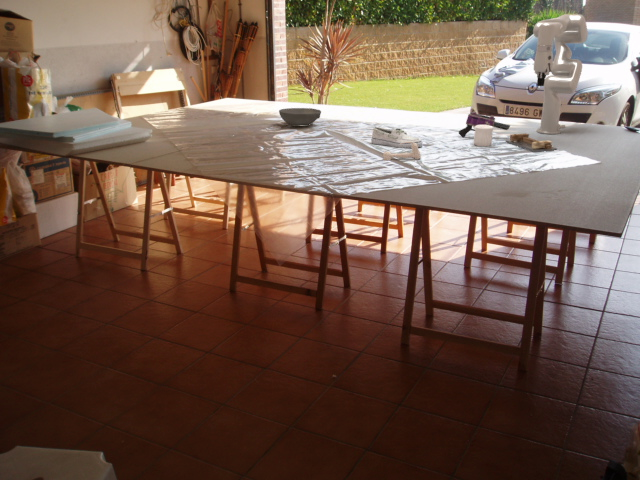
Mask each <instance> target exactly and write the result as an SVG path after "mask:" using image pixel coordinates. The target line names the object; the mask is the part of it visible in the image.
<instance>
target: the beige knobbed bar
mask: <svg viewBox="0 0 640 480" xmlns="http://www.w3.org/2000/svg"><path fill="white" fill-rule="evenodd" d="M404 143H412V145H411V148H410V149H411V151H412V152H402V153H391V151H389V150H387V151H385V152H384V153H383V154H382V158H383V159H382V160H383V161H391V160H392V158H399V159H401V158H402V159H414V160H419V159H421V157H422V155H421V152H420V149H419V147H418V146H417V144H416V143H414V142H404ZM399 144H402V143H399Z"/></svg>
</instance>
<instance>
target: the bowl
mask: <svg viewBox="0 0 640 480" xmlns="http://www.w3.org/2000/svg"><path fill="white" fill-rule="evenodd" d="M278 113H279V116H280V118H281V119H282V120H283V122H284V123H286V124H288V125H289V124H290V126H292V125H308V126H310V125H312V124H313V123H314V122H316V120H318V119H320V118H321V114H322V110H320V109H318V108H311V107H309V108H307V107H294V108H293V107H291V108H282V109H279V110H278ZM309 124H310V125H309Z"/></svg>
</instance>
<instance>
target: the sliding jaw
mask: <svg viewBox="0 0 640 480" xmlns="http://www.w3.org/2000/svg"><path fill="white" fill-rule="evenodd" d="M552 143H553V141H552V140H549V139H548V140H538V141H536V142H532V148H545V144H550V145H553V144H552Z"/></svg>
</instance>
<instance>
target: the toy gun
mask: <svg viewBox="0 0 640 480" xmlns="http://www.w3.org/2000/svg"><path fill="white" fill-rule="evenodd" d="M495 120H496V118H495V115H490V116H489V115H488V116H487V115H484V114H480V113H477V112H476V111H472V112H470V113H468V114H467V118H466V122H465V125H466V126H465V127H464V128H462V129H460V130H458V135H460V137H462V138H466V135H467V134H468V133H469V132H470V131H473V132H475V126H476V125H489V126H493V128H497V129H499V130H505V131H508V130H509V129H510V128H511V124H506V123H502V122H498V121H495Z"/></svg>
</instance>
